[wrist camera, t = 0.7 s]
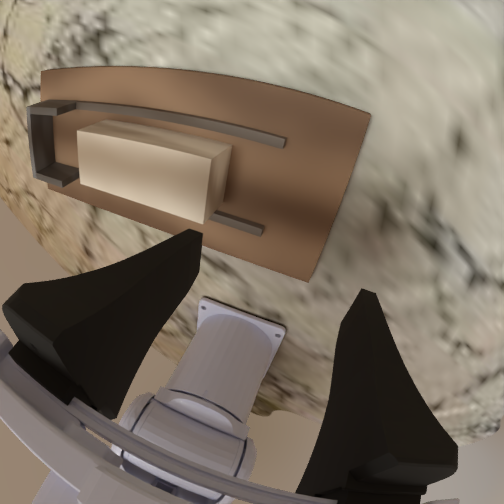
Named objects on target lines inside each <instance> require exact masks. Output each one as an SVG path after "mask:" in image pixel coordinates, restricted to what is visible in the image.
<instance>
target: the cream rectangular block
mask: <svg viewBox="0 0 504 504" xmlns="http://www.w3.org/2000/svg"><path fill="white" fill-rule="evenodd" d="M77 145H78V162H79V174H80V184H83V185H86V186H89V187H92V188H95V189H98V190H101V191H104V192H107V193H110V194H113V195H116V196H119V197H122V198H125V199H128V200H131V201H135V202H138V203H141V204H144V205H147V206H150V207H153V208H156V209H159V210H162V211H164V212H167V213H170V214H173V215H176V216H179V217H182V218H185V219H188V220H191V221H194V222H197V223H200V224H204V223H205V222H206V221H207V220H208V219H209V217H210V216H211V215H212V214H213V213H214V212H215V211H216V210H217V209H218V207H219V206H220V205H221V204H222V203H223V200H224V193H225V187H226V181H227V175H228V169H229V163H230V157H231V151H232V144H228V143H224V142H220V141H216V140H212V139H208V138H203V137H199V136H195V135H190V134H185V133H181V132H176V131H171V130H166V129H161V128H156V127H150V126H145V125H139V124H133V123H127V122H120V121H114V120H107V119H106V120H103V121H101V122H98V123H95V124H93V125H90V126H87V127H85V128H82V129H80V130H77Z"/></svg>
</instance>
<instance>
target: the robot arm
mask: <svg viewBox="0 0 504 504" xmlns="http://www.w3.org/2000/svg"><path fill="white" fill-rule="evenodd" d="M202 239H203V233H201V232H198V231H196V230H193V229H190V228H189V229H187V230H185V231H183V232H181V233H179V234H177V235H175V236H173V237H171V238H169V239H167V240H165V241H163V242H161V243H159V244H157V245H155V246H153V247H151V248H149V249H147V250H145V251H143V252H140V253H138V254H136V255H134V256H131V257H129V258H127V259H125V260H122V261H120V262H117V263H115V264H112V265H109V266H106V267H103V268H100V269H97V270H94V271H90V272H86V273H83V274H79V275H76V276H71V277H67V278H62V279H56V280H50V281H44V282H34V283H25V284H23V285H22V286H21V287H20V288H19V289H18V290H17V291H16V292H15V293H14V294H13V295H12V296H11V297H10V298H9V299H8V300H7V301H6V302H5V303H4V304H3V305H2V310H3V313H4V316H5V317H6V319H7V321H8V323H9V324H10V326H11V328H12V329H13V331H14V333H15V334H16V336H17V337H18V339H19V341H18V342H17V343H16V344H15V346H14V347H13V345H12V343H11V342H10V341H9V339H8V338H7V336H6V335H5V334H4V333H3V332H2V330H1V329H0V418H1V420H2V421H3V422H4V423H5V424H6V425H7V426H8V428H9V429H10V430H11V431H12V432H13V433H14V434H15V435H16V436H17V437H18V438H19V439H20V441H21V442H22V443H24V445H25V446H26V447H27V448H28V449H30V451H32V452H33V453H34V454H35V455H36V456H37V457H38V458H39V459H40V460H41V461H42V462H43V463H44V464H45V465H46V466H48V467H49V468H50V469H51V471H50V473H49V474H48V476H47V478H46V479H45V481H44V483H43V484H42V486H41V488H40V489H39V491H38V493H37V495H36V497H35V498H34V500H33V502H32V503H31V504H231V503H232V501H233V500H235V499H239V500H242V501H246V502H249V503H253V504H420V499H421V495H424V494H426V491H427V485H429V484H432V483H435V482H437V481H440V480H443V479H445V478H447V477H449V476H451V475H453V474H454V473H455V472H456V470H457V468H458V445H457V444H456V443H455V442H454V441H453V439H452V438H451V437H450V436H449V435H448V433H447V432H446V431H445V430H444V429H443V427H442V426H441V425H440V423H439V422H438V420H437V419H436V418H435V416H434V415H433V413H432V412H431V410H430V409H429V407H428V406H427V404H426V403H425V401H424V399H423V398H422V396H421V394H420V393H419V391H418V389H417V388H416V386H415V384H414V382H413V380H412V378H411V376H410V375H409V373H408V371H407V369H406V367H405V365H404V363H403V360H402V358H401V356H400V354H399V351H398V349H397V347H396V344H395V342H394V340H393V337H392V335H391V332H390V329H389V327H388V324H387V322H386V319H385V316H384V314H383V311H382V308H381V306H380V303H379V300H378V298H377V295H376V293H373V292H370V291H367V290H365V289H361V290H360V292H359V294H358V295H357V297H356V299H355V301H354V302H353V304H352V306H351V307H350V309H349V311H348V312H347V314H346V315H345V317H344V319H343V320H342V322H341V325H340V329H339V334H338V338H337V342H336V349H335V357H334V365H333V373H332V381H331V389H330V395H329V400H328V405H327V408H326V412H325V416H324V419H323V423H322V426H321V429H320V432H319V436H318V439H317V441H316V444H315V447H314V450H313V452H312V455H311V458H310V460H309V463H308V465H307V468H306V470H305V472H304V475H303V477H302V479H301V482H300V484H299V486H298V488H297V490H296V492H295V493H292V492H287V491H283V490H279V489H275V488H271V487H267V486H263V485H259V484H256V483H253V482H249V481H248V480H249V477H250V475H251V473H252V470H253V467H254V464H255V460H256V448H255V445H254V442H253V440H252V439H251V438H248V437H247V434H248V431H249V429H250V427H249V426H247V425H246V422H247V419H248V417H249V414H250V411H251V409H252V406H253V403H254V401H255V398H256V395H257V392H258V390H259V387H260V384H261V381H262V379H263V378H264V377H265V375H266V373H267V370H268V368H269V366H270V364H271V362H272V360H273V358H274V356H275V354H276V352H277V350H278V348H279V346H280V344H281V341H282V339H283V337H284V335H285V332H286V329H285V328H284V327H283V326H280V325H278V324H275V323H272V322H269V321H266V320H263V319H261V318H258V317H255V316H252V315H250V314H247V313H244V312H242V311H239V310H236V309H234V308H231V307H228V306H226V305H223V304H220V303H218V302H215V301H213V300H210V299H208V298H201V299H200V301H199V309H198V321H197V332H196V334H195V336H194V337H193V339H192V341H191V343H190V344H189V346H188V348H187V350H186V351H185V353H184V355H183V356H182V358H181V360H180V362H179V363H178V365H177V367H176V369H175V370H174V372H173V374H172V376H171V377H170V379H169V381H168V383H167V385H166V386H165V388H164V387H160V388H159V390H158V392H157V393H156V395H154V394H152V393H150V392H148V393H145V394H142V395H139V396H138V397H136V398H135V399H134V401H133V402H132V403H131V404H130V406H129V407H128V409H127V410H126V412H125V413H124V415H123V417H122V419H121V421H120V423H119V424H116V423H114V422H113V421H111V420H112V419H115V418H117V415H118V413H119V410H120V408H121V405H122V403H123V401H124V398H125V396H126V394H127V392H128V389H129V387H130V385H131V383H132V381H133V379H134V377H135V374H136V373H137V370H138V368H139V367H140V365H141V363H142V361H143V359H144V357H145V355H146V353H147V352H148V350H149V348H150V346H151V344H152V343H153V341H154V339H155V337H156V336H157V334H158V333H159V331H160V330H161V329H162V327H163V326H164V324H165V323H166V322H167V320H168V319H169V318H170V316H171V315H172V314H173V312H174V311H175V309H176V308H177V307H178V305H179V304H180V303H181V301H182V300H183V298H184V297H185V296H186V294H187V293H188V291H189V290H190V288H191V286H192V284H193V283H194V281H195V279H196V277H197V275H198V273H199V269H200V259H201V249H202ZM85 427H87V428H88V429H90V430H91V431H93V432H94V433H96V434H97V435H99V436H101V437H102V438H104V439H106V440H107V441H109V442H110V443H112V448H111V449H110V448H109V446H107V445H106V444H104V443H103V442H101V441H100V440H99V439H97V438H96V437H94V436H93V435H91V434H90V433H89V432H87V431H86V428H85ZM424 504H459V499H458V498H457V499H445V500H436V501H430V502H426V503H424Z"/></svg>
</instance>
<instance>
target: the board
mask: <svg viewBox="0 0 504 504" xmlns="http://www.w3.org/2000/svg"><path fill="white" fill-rule="evenodd" d="M370 117H371V115H370V113H367V112H364V111H362V110H359V109H356V108H353V107H350V106H347V105H344V104H341V103H338V102H335V101H332V100H329V99H326V98H322V97H319V96H316V95H312V94H309V93H305V92H301V91H298V90H294V89H290V88H286V87H282V86H277V85H273V84H269V83H264V82H259V81H255V80H250V79H244V78H239V77H233V76H227V75H221V74H214V73H207V72H199V71H191V70H182V69H171V68H157V67H136V66H94V67H74V68H61V69H50V70H45V71H41V102H39V103H36V104H33V105H31V106H28V107H27V125H28V138H29V148H30V157H31V164H32V171H33V178H36V179H39V180H42V181H45V182H47V183H48V189H51V190H53V191H56V192H59V193H61V194H64V195H67V196H69V197H72V198H75V199H77V200H80V201H83V202H85V203H88V204H91V205H93V206H96V207H99V208H101V209H104V210H107V211H110V212H112V213H115V214H118V215H120V216H123V217H126V218H129V219H131V220H134V221H137V222H139V223H142V224H145V225H148V226H150V227H153V228H156V229H159V230H161V231H164V232H167V233H170V234H172V235H177V234H179V233H181V232H183V231H185V230H187V229H189V228H190V229H193V230H196V231H198V232H201V233H203V239H202V245H203V246H206V247H208V248H211V249H214V250H217V251H220V252H222V253H225V254H228V255H231V256H234V257H236V258H239V259H242V260H245V261H248V262H251V263H253V264H256V265H259V266H262V267H265V268H268V269H270V270H273V271H276V272H279V273H282V274H285V275H287V276H290V277H293V278H296V279H299V280H302V281H305V282H309V280H310V278H311V275H312V273H313V271H314V268H315V266H316V264H317V261H318V259H319V256H320V254H321V252H322V249H323V247H324V244H325V242H326V239H327V237H328V234H329V232H330V229H331V227H332V224H333V222H334V219H335V216H336V214H337V211H338V209H339V206H340V203H341V201H342V198H343V195H344V193H345V190H346V187H347V184H348V182H349V179H350V176H351V173H352V171H353V168H354V165H355V162H356V159H357V156H358V153H359V150H360V148H361V145H362V142H363V139H364V136H365V133H366V130H367V126H368V123H369V120H370ZM106 119H107V120H114V121H120V122H127V123H133V124H139V125H145V126H150V127H156V128H161V129H166V130H171V131H176V132H181V133H185V134H190V135H195V136H199V137H203V138H208V139H212V140H216V141H220V142H224V143H228V144H232V151H231V157H230V163H229V169H228V175H227V181H226V187H225V193H224V200H223V203H222V204H221V205H220V206H219V207H218V209H217V210H216V211H215V212H214V213H213V214H212V215H211V216H210V217H209V219H208V220H207V221H206V222H205V223H204V224H200V223H197V222H194V221H191V220H188V219H185V218H182V217H179V216H176V215H173V214H170V213H167V212H164V211H162V210H159V209H156V208H153V207H150V206H147V205H144V204H141V203H138V202H135V201H131V200H128V199H125V198H122V197H119V196H116V195H113V194H110V193H107V192H104V191H101V190H98V189H95V188H92V187H89V186H86V185H83V184H80V174H79V162H78V145H77V130H80V129H82V128H85V127H87V126H90V125H93V124H95V123H98V122H101V121H103V120H106Z"/></svg>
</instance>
